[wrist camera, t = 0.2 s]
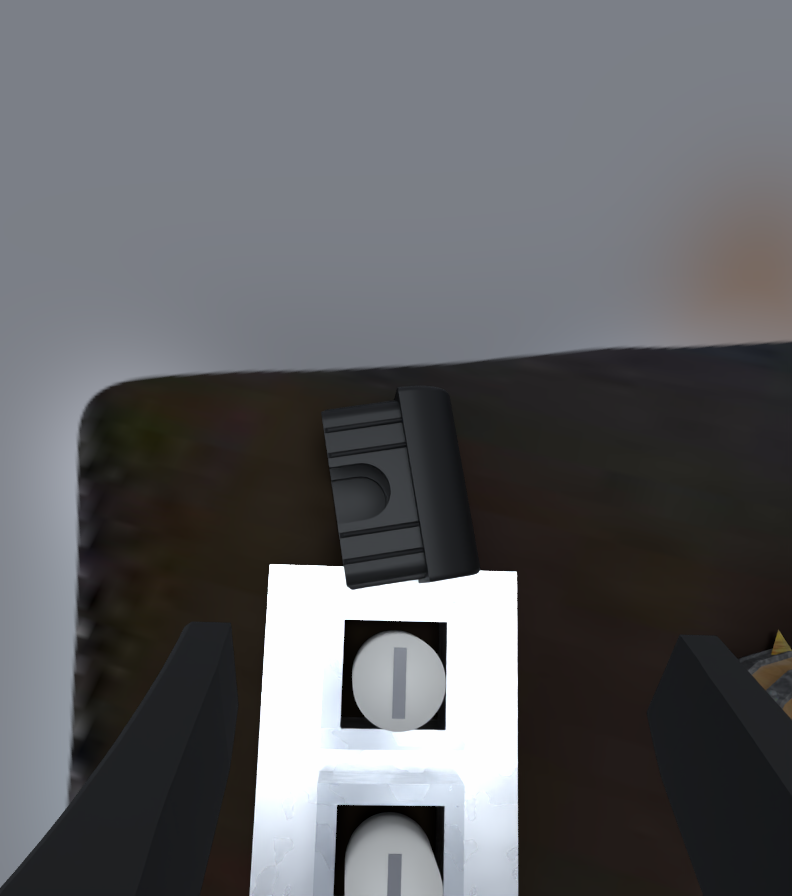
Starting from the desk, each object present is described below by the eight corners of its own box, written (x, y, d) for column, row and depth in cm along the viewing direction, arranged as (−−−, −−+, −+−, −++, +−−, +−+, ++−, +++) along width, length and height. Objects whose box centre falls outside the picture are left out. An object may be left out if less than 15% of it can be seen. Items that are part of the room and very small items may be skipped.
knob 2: (431, 907, 36) (442, 948, 32) (343, 907, 36) (342, 948, 32) (433, 812, 37) (443, 840, 33) (346, 811, 37) (346, 839, 33)
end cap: (468, 575, 42) (491, 572, 36) (347, 595, 42) (347, 595, 35) (439, 410, 44) (456, 378, 38) (323, 426, 44) (319, 396, 37)
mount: (513, 953, 39) (530, 988, 35) (248, 953, 38) (238, 990, 35) (513, 572, 43) (527, 570, 39) (271, 565, 42) (264, 562, 38)
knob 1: (434, 717, 38) (445, 733, 34) (350, 716, 38) (350, 731, 34) (436, 631, 39) (446, 635, 35) (353, 628, 39) (354, 633, 35)
